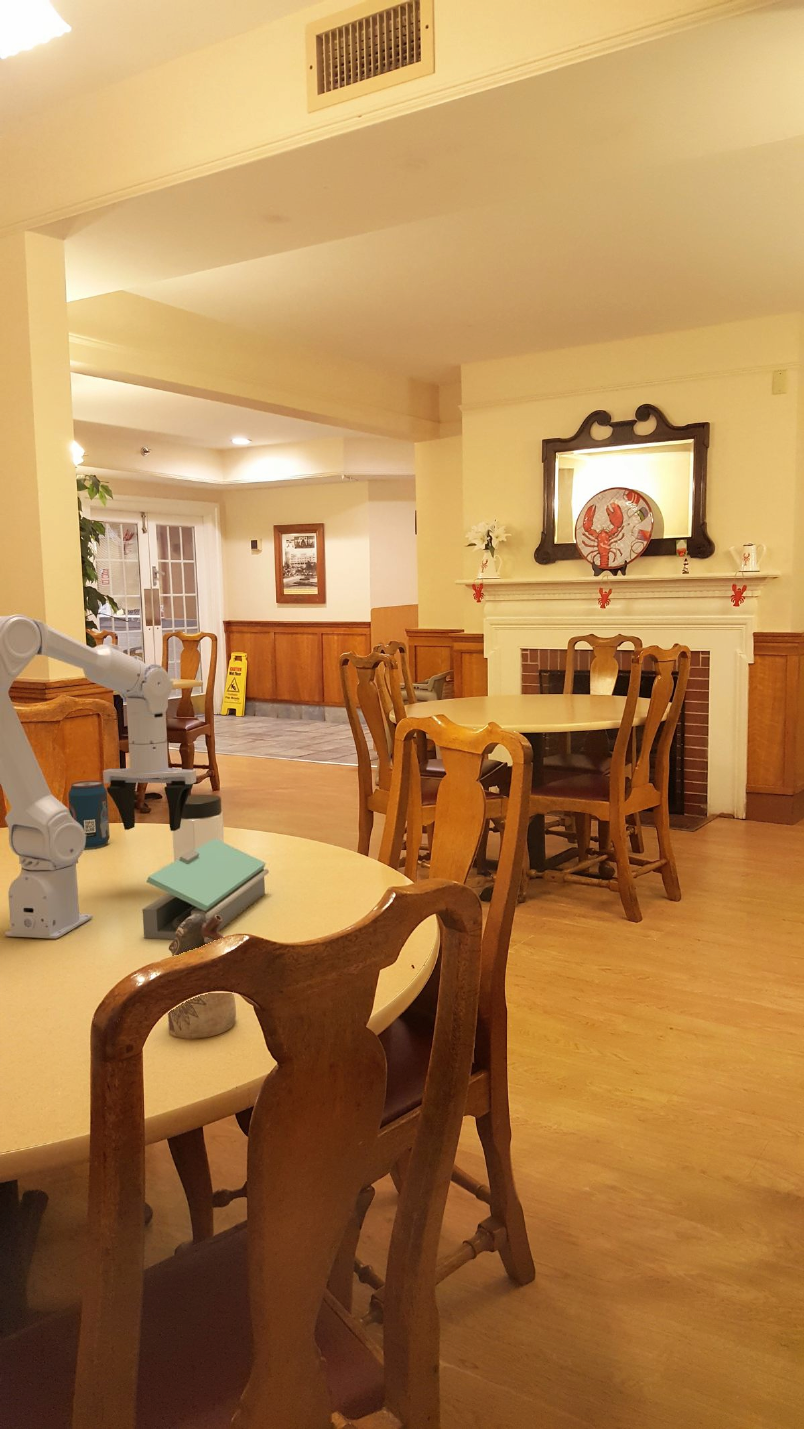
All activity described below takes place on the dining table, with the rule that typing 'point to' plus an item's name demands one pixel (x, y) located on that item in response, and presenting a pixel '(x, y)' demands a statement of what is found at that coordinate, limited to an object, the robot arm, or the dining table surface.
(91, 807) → the soda can
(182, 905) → the cable duct
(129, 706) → the robot arm
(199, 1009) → the figurine
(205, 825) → the jar
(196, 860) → the duct lid
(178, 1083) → the dining table surface
